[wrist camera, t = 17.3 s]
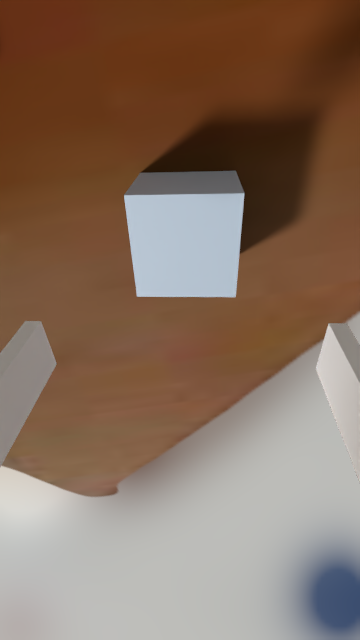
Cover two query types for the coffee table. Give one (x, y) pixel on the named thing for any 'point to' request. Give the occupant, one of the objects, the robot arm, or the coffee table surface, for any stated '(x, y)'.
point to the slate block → (185, 233)
